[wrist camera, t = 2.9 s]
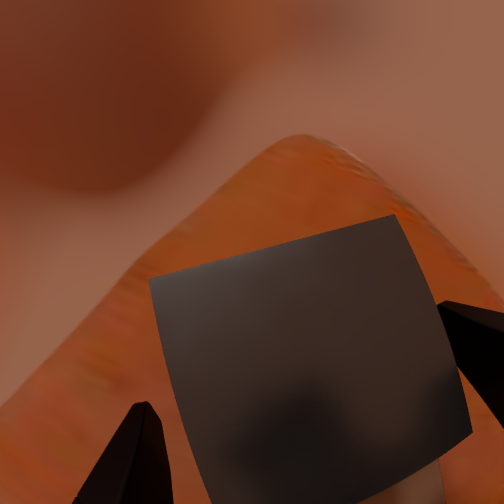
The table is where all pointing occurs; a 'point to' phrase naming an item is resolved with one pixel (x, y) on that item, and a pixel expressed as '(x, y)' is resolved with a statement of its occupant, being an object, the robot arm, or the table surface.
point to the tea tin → (311, 368)
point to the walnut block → (414, 489)
